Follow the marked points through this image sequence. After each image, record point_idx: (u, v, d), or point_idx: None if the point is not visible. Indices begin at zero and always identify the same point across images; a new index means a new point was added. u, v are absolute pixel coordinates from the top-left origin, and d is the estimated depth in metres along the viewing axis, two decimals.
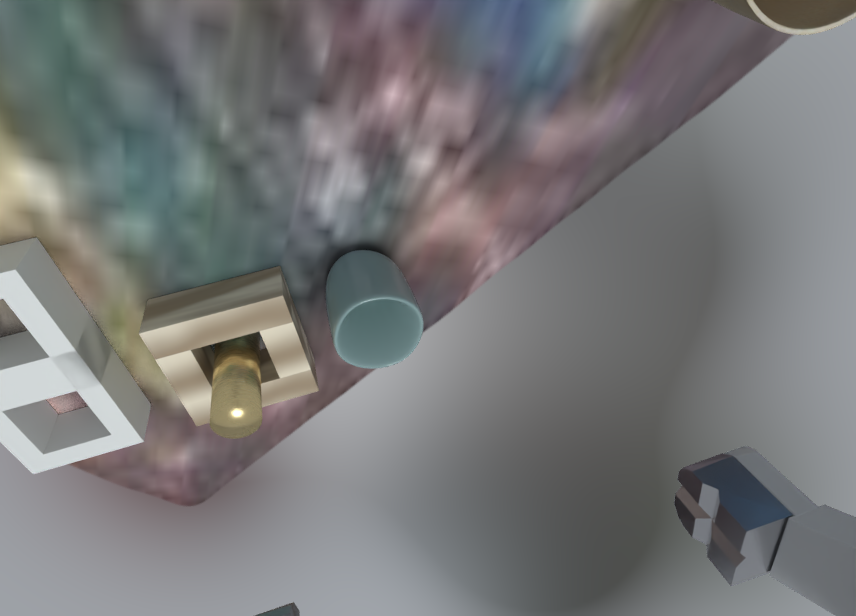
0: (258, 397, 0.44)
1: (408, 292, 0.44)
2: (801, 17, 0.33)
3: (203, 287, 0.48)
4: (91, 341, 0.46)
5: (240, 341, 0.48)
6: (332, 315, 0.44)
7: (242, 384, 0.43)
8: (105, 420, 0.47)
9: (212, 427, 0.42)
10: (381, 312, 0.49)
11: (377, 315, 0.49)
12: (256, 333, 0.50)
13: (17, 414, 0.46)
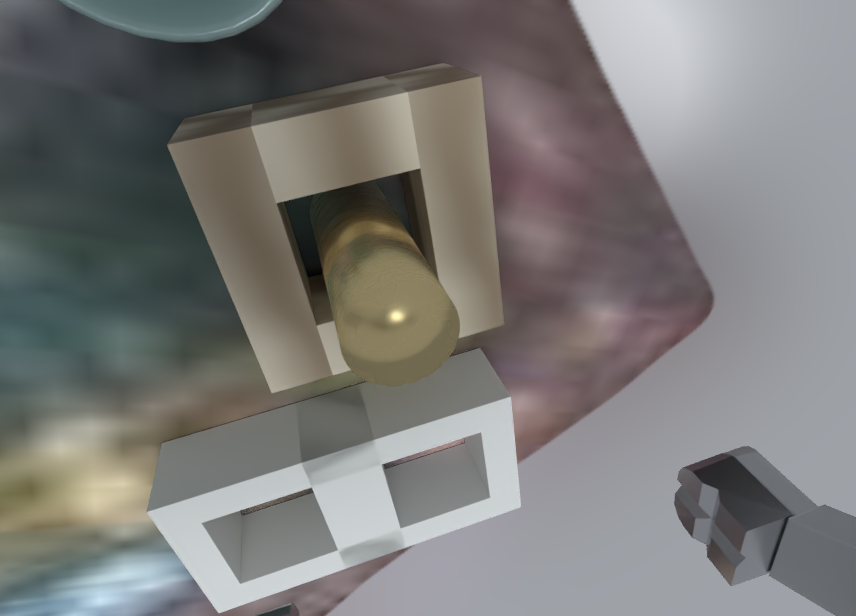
0: (368, 266, 0.17)
1: None
2: None
3: None
4: (319, 421, 0.30)
5: (318, 235, 0.23)
6: None
7: (334, 290, 0.18)
8: (449, 437, 0.30)
9: (408, 380, 0.18)
10: None
11: None
12: None
13: (420, 506, 0.34)
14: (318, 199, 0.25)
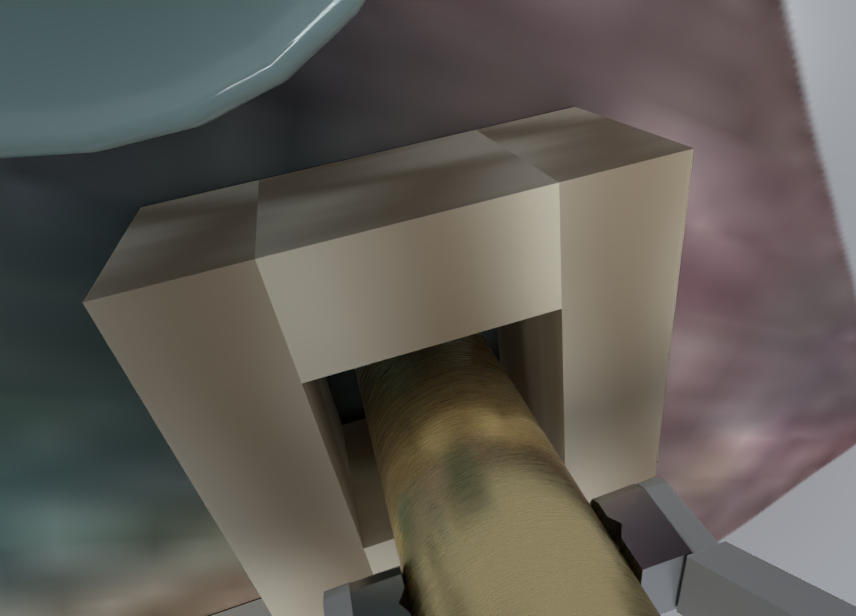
0: None
1: None
2: None
3: None
4: None
5: (371, 413, 0.13)
6: None
7: None
8: None
9: None
10: None
11: None
12: None
13: None
14: None
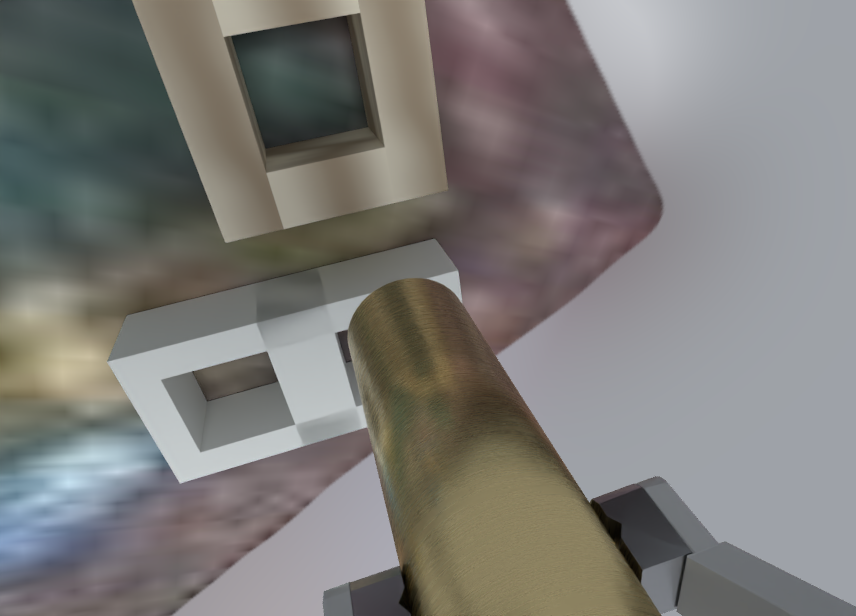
0: (521, 615, 0.08)
1: None
2: None
3: None
4: (277, 294, 0.32)
5: (370, 411, 0.13)
6: None
7: None
8: None
9: None
10: None
11: None
12: (395, 313, 0.15)
13: None
14: (364, 327, 0.15)
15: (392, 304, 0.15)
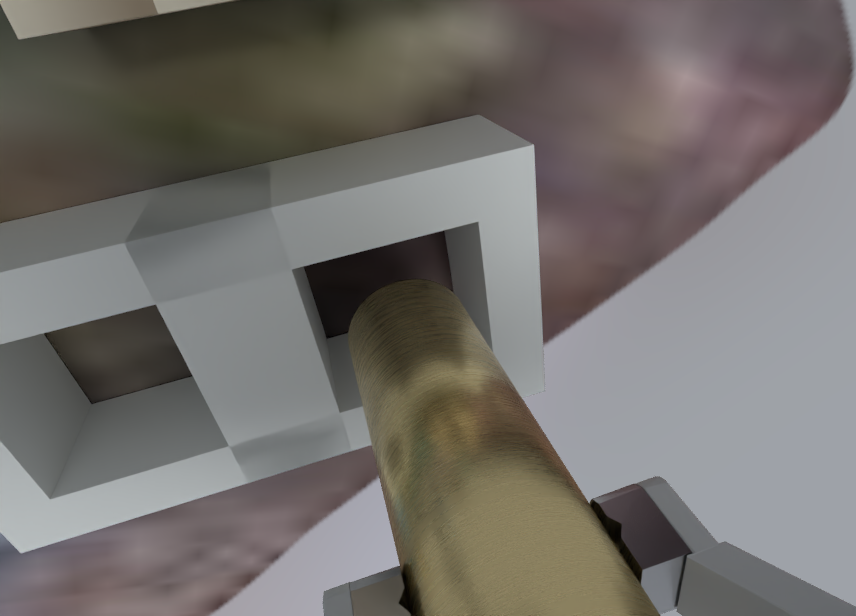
0: None
1: None
2: None
3: None
4: (185, 199, 0.17)
5: (370, 412, 0.13)
6: None
7: None
8: (419, 225, 0.16)
9: None
10: None
11: None
12: (395, 314, 0.15)
13: None
14: (365, 328, 0.15)
15: (393, 305, 0.15)
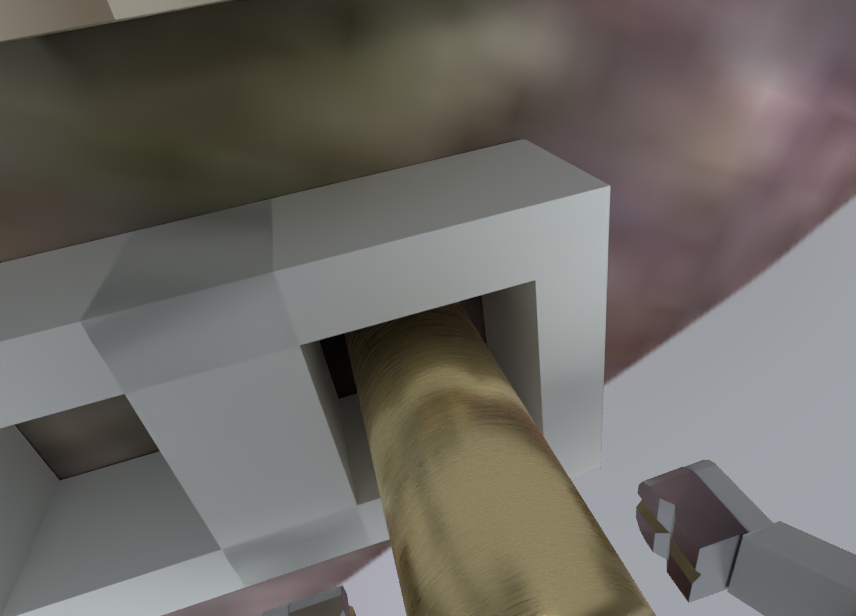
0: (480, 528, 0.09)
1: None
2: None
3: None
4: (164, 252, 0.13)
5: (359, 376, 0.14)
6: None
7: (406, 550, 0.10)
8: (462, 286, 0.13)
9: None
10: None
11: None
12: None
13: None
14: None
15: None
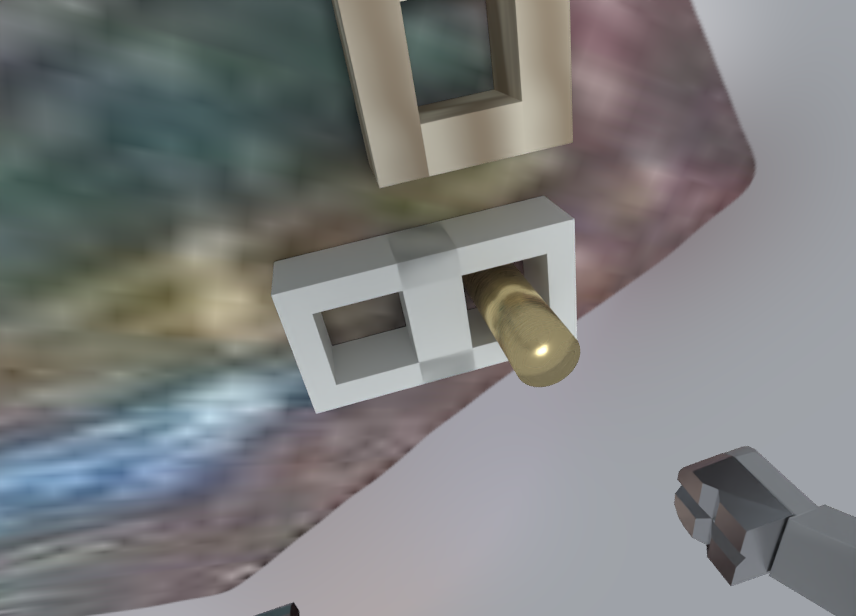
0: (529, 319, 0.31)
1: None
2: None
3: None
4: (408, 242, 0.36)
5: (477, 292, 0.37)
6: None
7: (505, 332, 0.32)
8: (519, 255, 0.35)
9: (548, 384, 0.31)
10: None
11: None
12: None
13: (489, 334, 0.39)
14: None
15: None
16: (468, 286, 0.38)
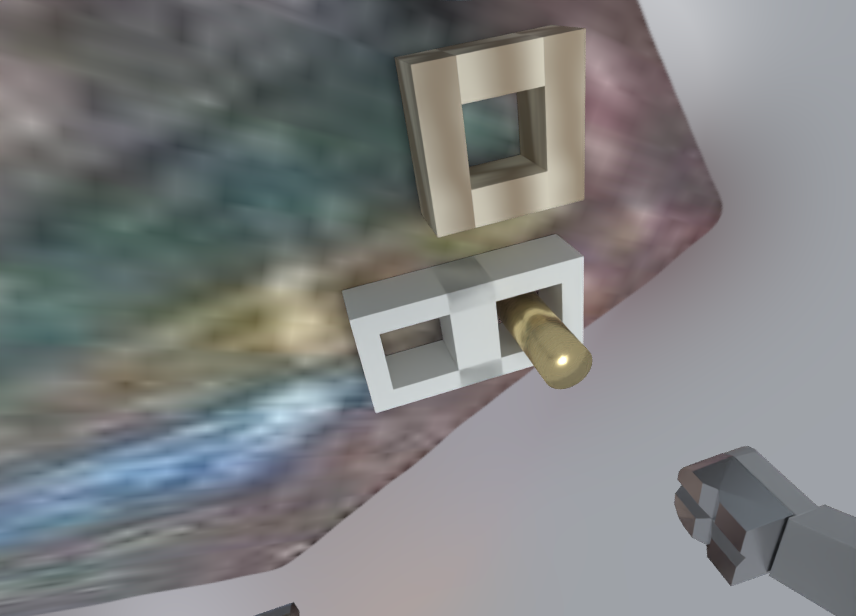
0: (553, 337, 0.40)
1: None
2: None
3: (412, 156, 0.41)
4: (451, 274, 0.45)
5: (505, 313, 0.46)
6: None
7: (534, 346, 0.41)
8: (541, 284, 0.44)
9: (567, 386, 0.41)
10: None
11: None
12: None
13: (513, 346, 0.48)
14: None
15: None
16: (496, 307, 0.47)
